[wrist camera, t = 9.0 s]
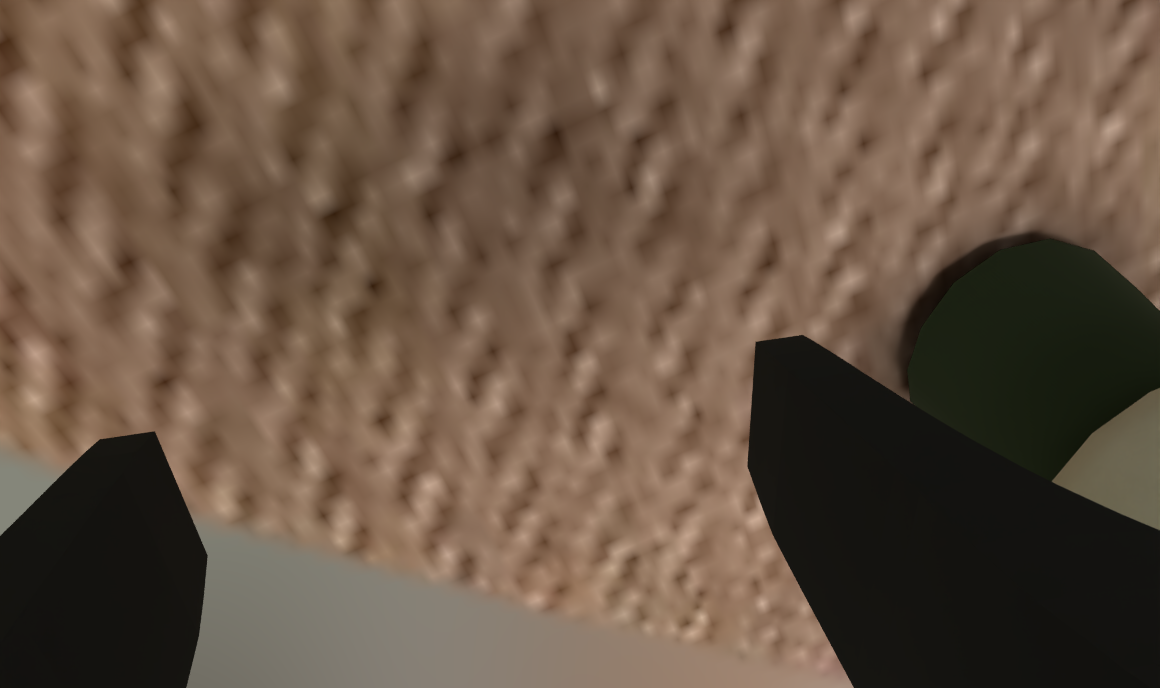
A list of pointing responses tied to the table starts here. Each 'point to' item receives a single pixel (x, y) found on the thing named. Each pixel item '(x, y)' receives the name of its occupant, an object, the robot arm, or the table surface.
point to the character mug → (1051, 372)
